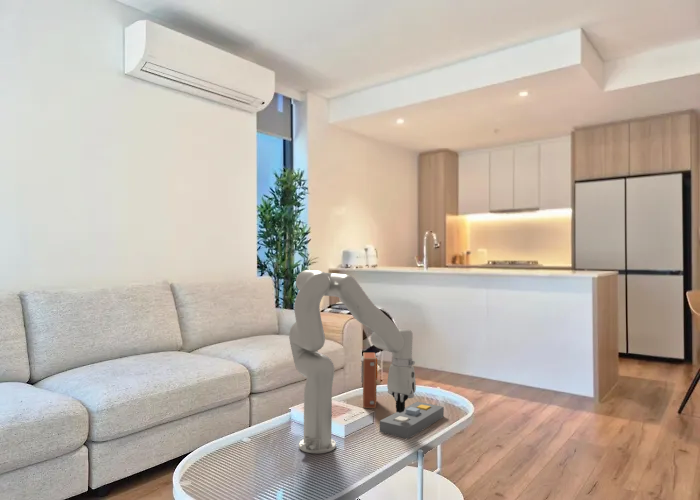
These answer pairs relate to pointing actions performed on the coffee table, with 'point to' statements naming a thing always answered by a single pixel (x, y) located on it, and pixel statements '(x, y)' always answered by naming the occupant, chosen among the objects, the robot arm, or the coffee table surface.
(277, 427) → the coffee table surface
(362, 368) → the terracotta rectangular block
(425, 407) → the amber button
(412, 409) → the slate button
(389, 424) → the button strip
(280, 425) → the coffee table surface
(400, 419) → the white button
